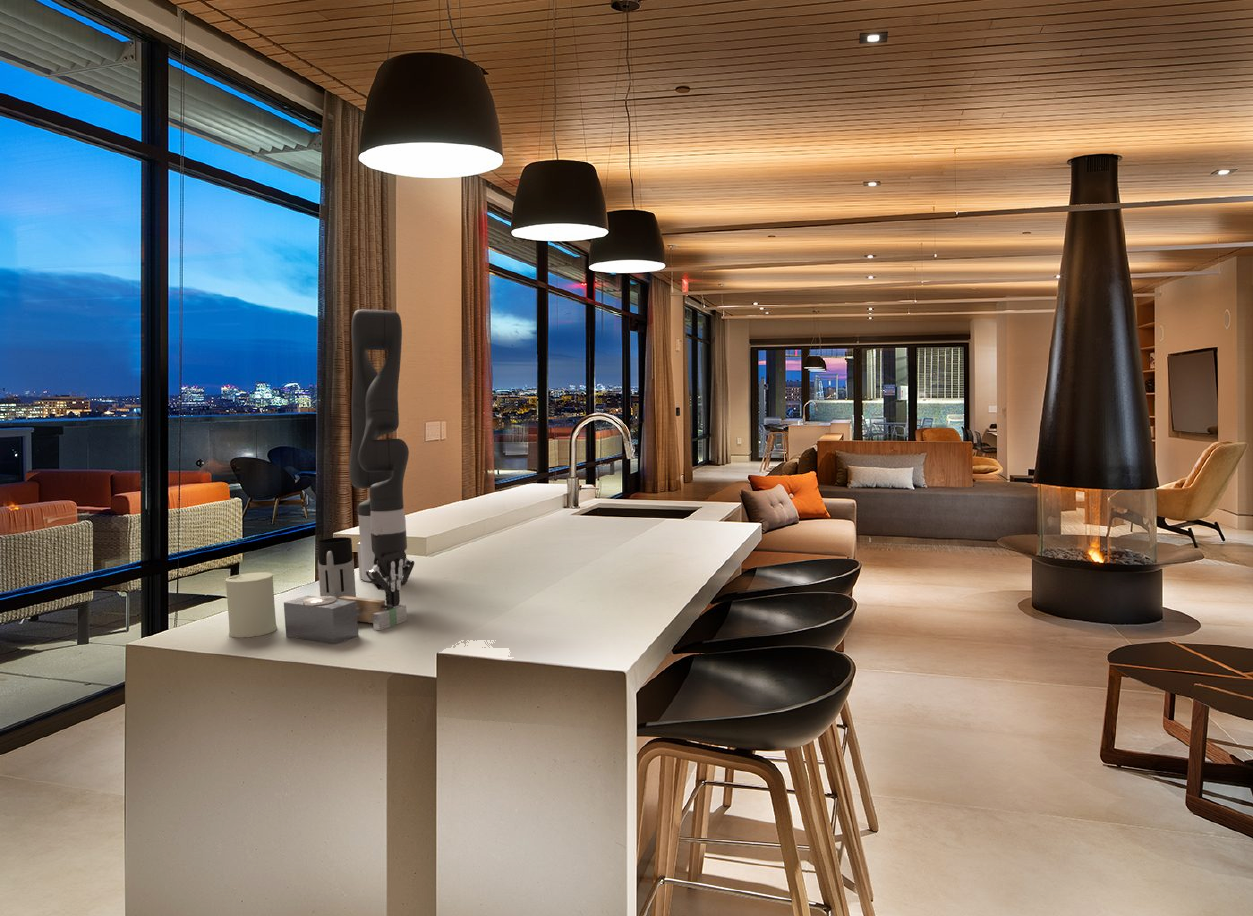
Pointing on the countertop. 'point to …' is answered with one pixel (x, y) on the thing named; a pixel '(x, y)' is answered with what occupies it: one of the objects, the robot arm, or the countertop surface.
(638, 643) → the countertop surface
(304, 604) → the set of grey blocks
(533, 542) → the countertop surface
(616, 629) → the countertop surface
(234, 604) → the can
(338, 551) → the black and white mug
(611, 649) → the countertop surface
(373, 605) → the tan wooden bar
